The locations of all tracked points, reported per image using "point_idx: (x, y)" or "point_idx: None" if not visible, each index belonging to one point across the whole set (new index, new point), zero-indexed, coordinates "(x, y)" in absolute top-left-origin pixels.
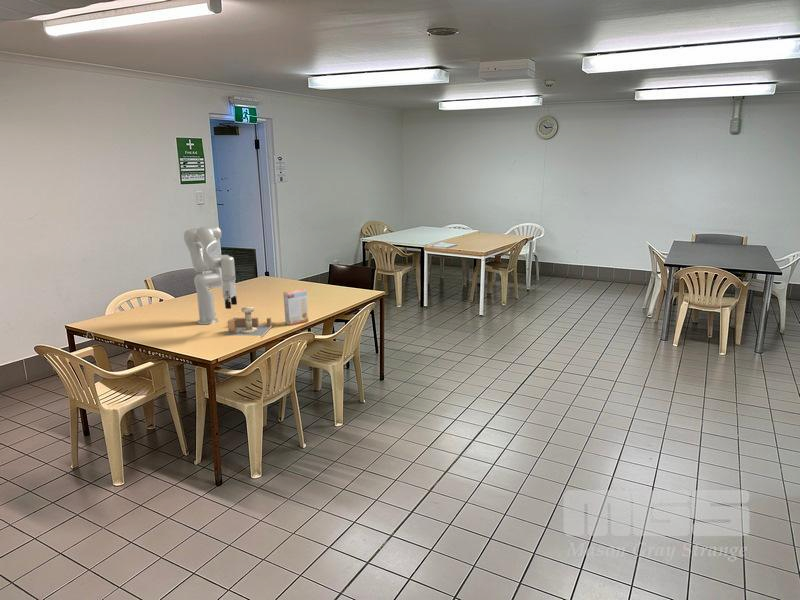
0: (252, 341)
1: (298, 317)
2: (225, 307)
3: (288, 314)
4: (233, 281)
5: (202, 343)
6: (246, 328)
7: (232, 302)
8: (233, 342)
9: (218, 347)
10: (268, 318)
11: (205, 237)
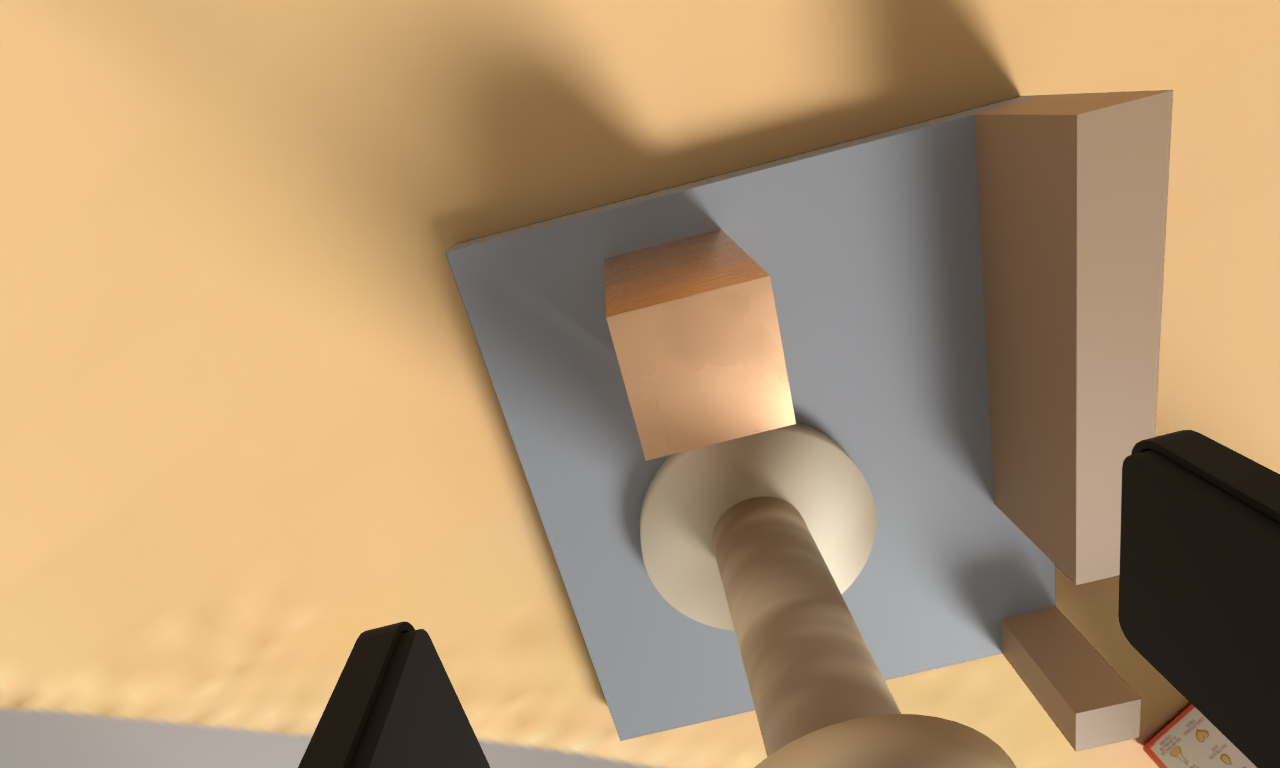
0: (461, 688)
1: None
2: (346, 666)
3: None
4: None
5: (29, 88)
6: (721, 536)
7: (1208, 556)
8: (325, 516)
9: (45, 457)
10: (1102, 724)
11: None
